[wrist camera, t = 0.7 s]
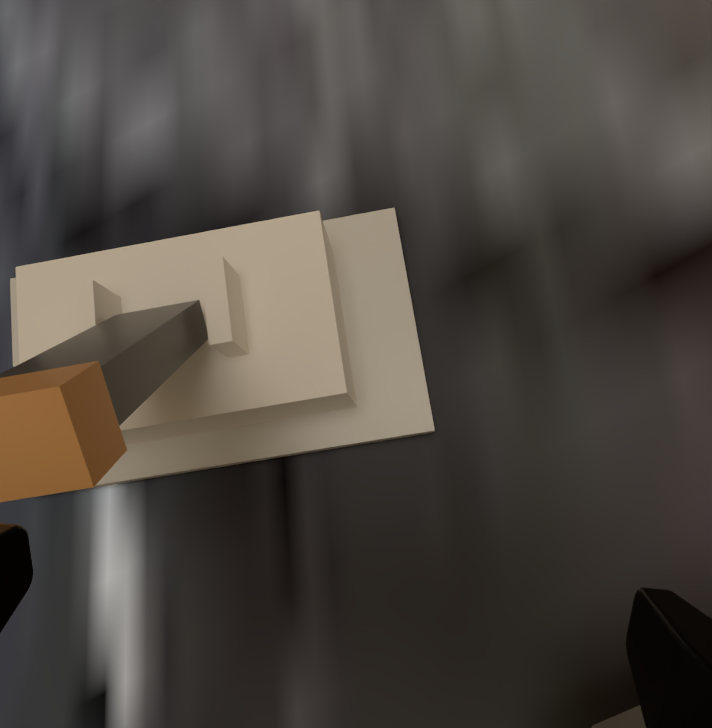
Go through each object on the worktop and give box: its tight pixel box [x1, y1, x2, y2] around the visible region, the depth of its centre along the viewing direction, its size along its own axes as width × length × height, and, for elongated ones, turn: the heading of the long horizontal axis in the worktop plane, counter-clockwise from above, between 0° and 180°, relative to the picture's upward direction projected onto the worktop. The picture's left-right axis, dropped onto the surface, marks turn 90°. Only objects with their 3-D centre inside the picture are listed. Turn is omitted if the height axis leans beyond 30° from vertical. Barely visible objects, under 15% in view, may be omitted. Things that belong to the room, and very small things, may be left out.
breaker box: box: [10, 208, 435, 497], centre depth 23 cm, size 10×18×7 cm, turn 99°
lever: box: [0, 300, 208, 502], centre depth 16 cm, size 2×4×10 cm, turn 99°
